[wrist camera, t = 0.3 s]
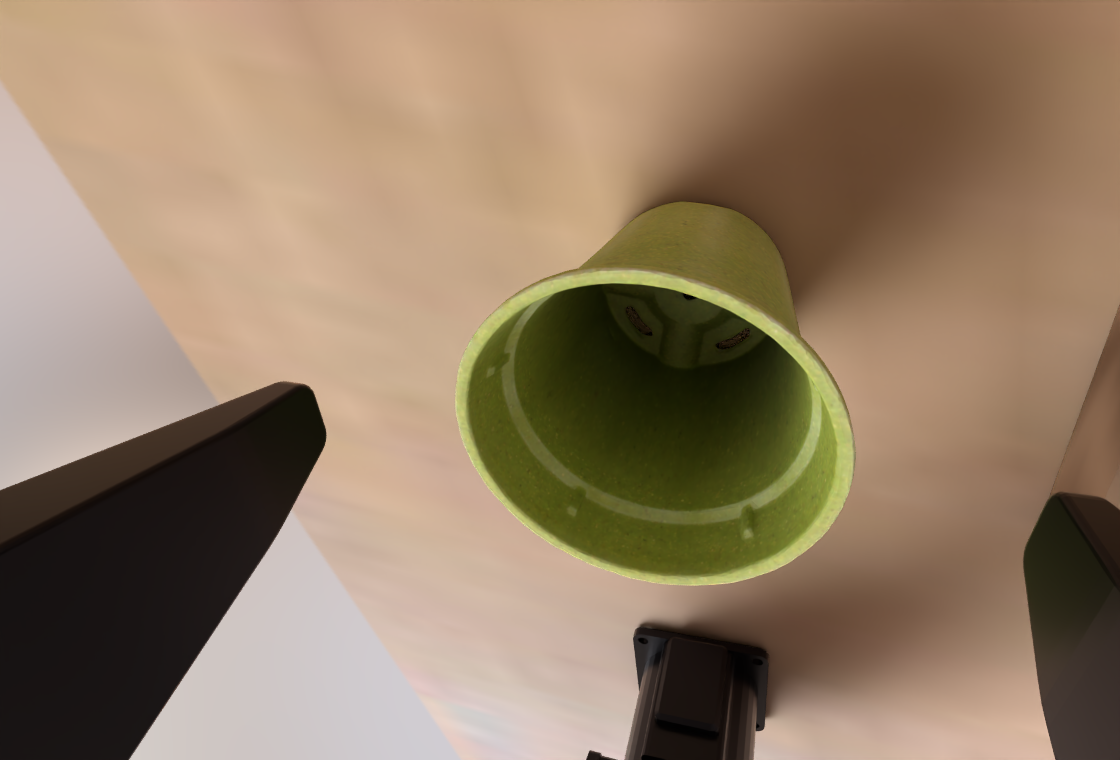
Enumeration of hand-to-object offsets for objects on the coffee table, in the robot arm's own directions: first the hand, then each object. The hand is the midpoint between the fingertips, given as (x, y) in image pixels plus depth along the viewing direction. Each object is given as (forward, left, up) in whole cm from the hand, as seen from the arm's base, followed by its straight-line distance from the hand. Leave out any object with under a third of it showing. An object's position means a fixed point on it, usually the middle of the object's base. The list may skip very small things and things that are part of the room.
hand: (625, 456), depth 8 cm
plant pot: (-5, +1, -15) cm, 15 cm away
